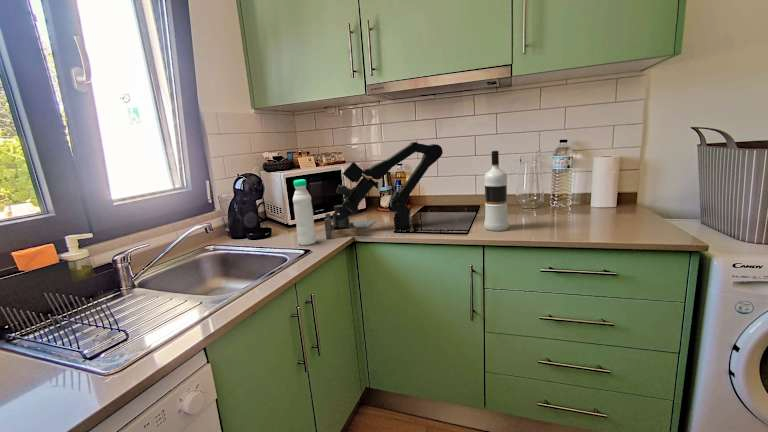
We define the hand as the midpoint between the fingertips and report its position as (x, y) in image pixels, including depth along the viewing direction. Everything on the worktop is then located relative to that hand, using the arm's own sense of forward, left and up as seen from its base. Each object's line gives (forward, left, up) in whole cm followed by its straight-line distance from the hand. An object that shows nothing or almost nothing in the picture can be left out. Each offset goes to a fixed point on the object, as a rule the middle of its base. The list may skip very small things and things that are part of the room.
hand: (337, 218), depth 156 cm
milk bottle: (+8, +13, -7) cm, 17 cm away
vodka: (-63, -8, -7) cm, 64 cm away
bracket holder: (-1, -1, -7) cm, 7 cm away
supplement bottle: (-1, -1, -7) cm, 7 cm away
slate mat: (-3, -16, -7) cm, 17 cm away
